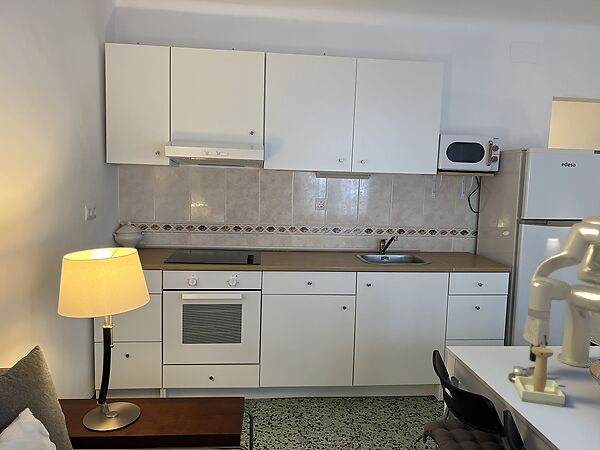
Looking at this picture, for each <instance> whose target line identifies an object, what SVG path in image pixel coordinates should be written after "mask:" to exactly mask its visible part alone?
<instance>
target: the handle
mask: <svg viewBox="0 0 600 450" xmlns="http://www.w3.org/2000/svg"><path fill="white" fill-rule="evenodd" d="M532 352H533V353H534V354H535V355H536V362H534V367H535V369H534V375H532V378H533V386H534V388H533V390H534V392H542V393H544V389H545V386H546V380H548V379H547V377H548V358H549V357H550V358H551V357H553V355H554V350H553V349H551V348H547V347H545V348H543V347H532Z"/></svg>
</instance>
